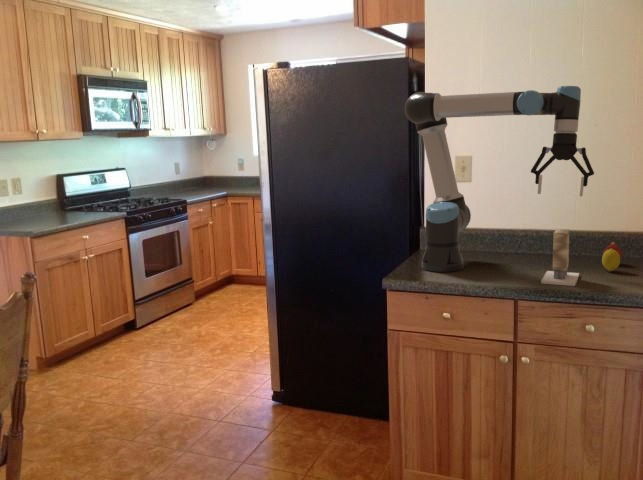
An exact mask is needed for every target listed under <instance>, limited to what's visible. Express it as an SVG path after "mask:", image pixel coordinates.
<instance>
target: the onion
mask: <svg viewBox="0 0 643 480" xmlns="http://www.w3.org/2000/svg"><path fill="white" fill-rule="evenodd" d="M611 248H612V249H613V250H615V251H617V252H618V253H619V256H620V259H621V258H622V256H623V254H622V250H621V248H620V247H619V246H618V245H616V242H613V241H612V242H611V243H610V244H609V245H607V247H605V249H604V250H603V253H604V252H605V251H607V250H609V249H611Z"/></svg>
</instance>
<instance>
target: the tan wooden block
mask: <svg viewBox="0 0 643 480" xmlns="http://www.w3.org/2000/svg"><path fill="white" fill-rule="evenodd" d="M552 240H553V243H552V270H551V271H554V270H562V271H566V269H567V270H568V267H569V258H570V254H569V253H570V229H563V228H562V229H559V228H556V230H554V232H553V239H552Z"/></svg>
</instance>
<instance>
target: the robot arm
mask: <svg viewBox="0 0 643 480" xmlns="http://www.w3.org/2000/svg"><path fill="white" fill-rule="evenodd" d="M581 93H582V91H581V88H580V86H577V85H562V86H558V87H557V90H556V92H555V91H554V92H538V91H536V90H531V89H529V90H526V91H509V92H493V93H492V92H490V93H473V94H472V93H470V94H454V95H453V94H452V95H442V94H440V93H438V92H434V93H433V92H425V91H418V92H414V93H413V94H411V95H410V96H409V97H408V98H407V99H406V102H405V104H404V114H405V117H406V118H407V119H408V121H410V122H411V123H413V124H415V128H416V129H415V130H416V133H417V134H419V135H420V136H422V141H423V145H424V150H425V155H426V159H427V163H428V168H429V171H430V175H431V179H432V184H433V189H434V195H435V199H434V200H433V201H432V203H431V204H429V205H427V207H426V210H425V236H426V237H425V242H426V243H425V249H424V253H423V256H422V260H421V269H423V270H424V271H429V272H434V273H435V272H438V273H451V272H457V271H460V270H463V269H464V268H465V267H464V259H463V256H462V252H461V250H460V245H459V241H460V240H459V239H460V237H459V235H460V234H459V233H461V232H462V231H464V230H466V229H467V226H469V224H470V222H471V218H472V217H471V216H472V214H471V210H470V208H469V206H468V205H467V204H466V201H465V197H464V194H462V193H461V192H459V189H458V184H457V179H456V175H455V171H454V167H453V162H452V157H451V153H450V147H449V143H448V138H447V134H446V132H445V131H446V129H447V127H448V125H449V124H448V120H447V118H467V117H468V118H472V117H474V118H475V117H496V116H498V117H500V116H501V117H502V116H554V124H553V132H555V133H553V138H552V146H551V147H547V146H543V147H542V150H541V153H540V155H539V156H538V158H537V160H536V161H535V163H534V165H533V166H532V168H531V170H530V173H532V174H534V175H535V182H534V183H535V185H537V195H540V194H542V184H543V175H542V174H541V173H543V172H544V171H545V170H546V169H547V168H548V166H550V165H551V164H552V163H553V162H554V161H555V160H556V161H563V160H564V161H569V160H571V162H572V163H573V164H574V165H575V166H576V168H577V169H578V170H579V171H580V173H581V174H582V176H581V179H580V187H579V189H580V191H579V197H583V195H584V187H587V186H588V181H589V180H588V179H589V177H591V176H594V175H595V172H594V169H593V166H592V164H591V162H590V161H589V158H588V155H587V149H586V147H580V148H579V147H577V143H578V142H577V140H578V135H577V132H578V130H579V117H580V109H581ZM549 152H550V153H552V156H551V157H550V158H549V159H548V160H547V161H546V162H545V163H544V164H542V166H541V167H540V165H541V162H542V161H543V159H544V158H545V156H546V154H549ZM577 152H578V153H579V155H581V156H582V160H583V161H584V164H585V166H586V169H587V170H585V168H584V167H583V166H582V165H581V163H580V162H579V161H578V159H577V158H576V157H575V155H576V154H577ZM539 167H540V168H539ZM538 168H539V169H538ZM537 169H538V170H537ZM587 171H588V172H587Z"/></svg>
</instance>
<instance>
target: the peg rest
mask: <svg viewBox="0 0 643 480" xmlns="http://www.w3.org/2000/svg"><path fill="white" fill-rule="evenodd" d="M579 277H580V272H568V268H567V269H566V271H562V270H546V272H545V273H544V275H543V277H542V278H541V281H540V283H541V284H544V285H545V284H546V285H555V286H556V285H557V286H569V287H571V286H572V287H575V286H576V285H577V282H578V279H579Z"/></svg>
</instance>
